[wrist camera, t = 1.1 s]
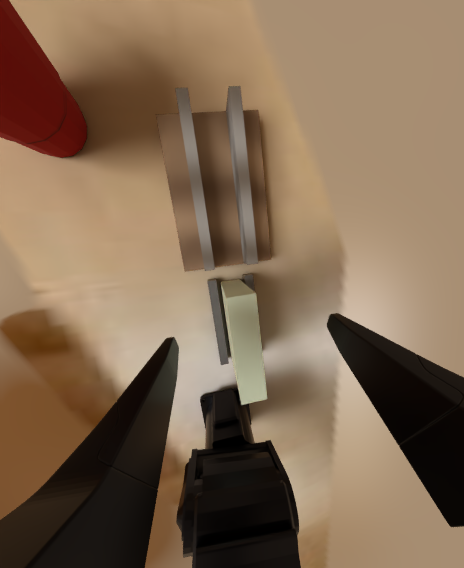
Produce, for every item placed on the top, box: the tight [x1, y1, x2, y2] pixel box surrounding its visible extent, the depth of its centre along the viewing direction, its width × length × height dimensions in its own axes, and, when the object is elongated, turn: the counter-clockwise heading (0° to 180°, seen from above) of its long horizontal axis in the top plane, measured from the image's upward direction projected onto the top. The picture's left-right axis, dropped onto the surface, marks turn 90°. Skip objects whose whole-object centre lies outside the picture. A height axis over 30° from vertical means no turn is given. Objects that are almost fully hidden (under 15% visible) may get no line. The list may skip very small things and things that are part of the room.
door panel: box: [220, 279, 267, 405], centre depth 18 cm, size 10×2×8 cm, turn 8°
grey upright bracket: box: [208, 274, 255, 365], centre depth 21 cm, size 11×5×1 cm, turn 8°
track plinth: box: [156, 86, 271, 272], centre depth 17 cm, size 15×10×4 cm, turn 8°
